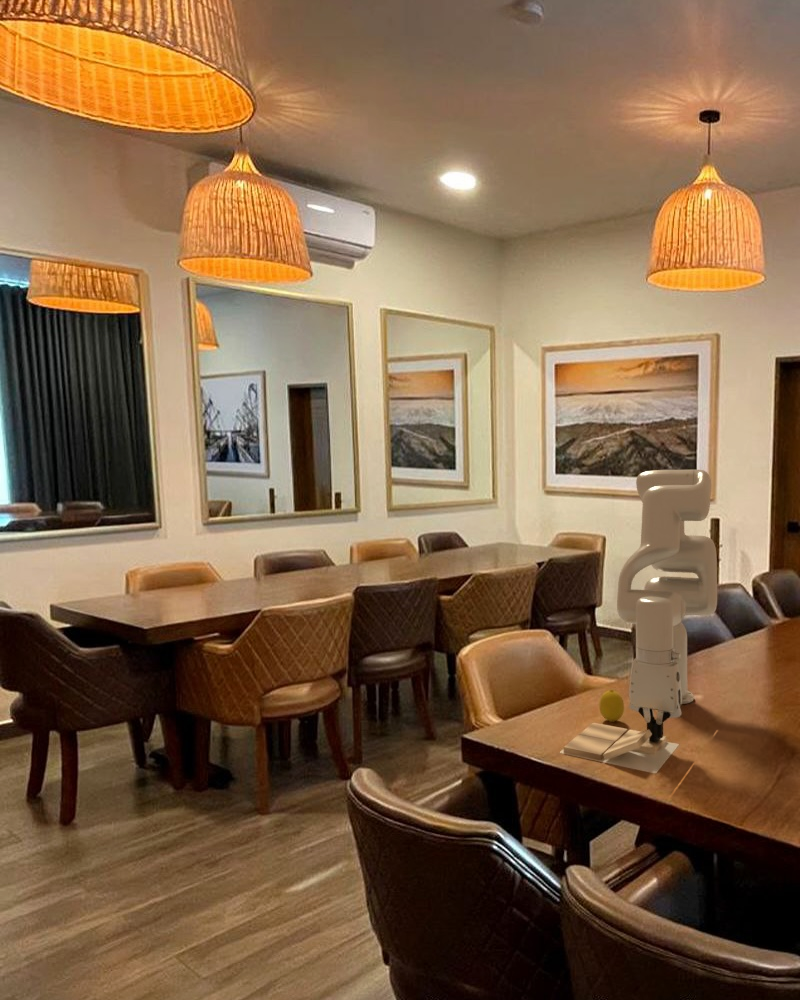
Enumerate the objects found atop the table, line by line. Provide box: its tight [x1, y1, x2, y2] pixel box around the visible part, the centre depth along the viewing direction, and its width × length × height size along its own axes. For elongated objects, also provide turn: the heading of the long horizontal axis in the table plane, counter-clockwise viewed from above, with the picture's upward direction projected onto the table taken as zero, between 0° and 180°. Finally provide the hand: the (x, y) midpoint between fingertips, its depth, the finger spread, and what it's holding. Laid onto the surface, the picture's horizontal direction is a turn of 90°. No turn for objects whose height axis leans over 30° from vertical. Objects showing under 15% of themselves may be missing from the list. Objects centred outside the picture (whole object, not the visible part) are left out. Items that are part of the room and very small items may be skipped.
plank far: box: [618, 729, 668, 755], centre depth 158 cm, size 8×8×1 cm
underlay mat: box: [559, 741, 680, 775], centre depth 156 cm, size 18×20×1 cm
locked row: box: [563, 722, 629, 761], centre depth 159 cm, size 18×8×1 cm, turn 145°
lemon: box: [599, 688, 625, 723], centre depth 173 cm, size 6×6×8 cm
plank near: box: [603, 729, 652, 760], centre depth 151 cm, size 8×8×1 cm
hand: (655, 739), depth 157 cm, fingers closed
